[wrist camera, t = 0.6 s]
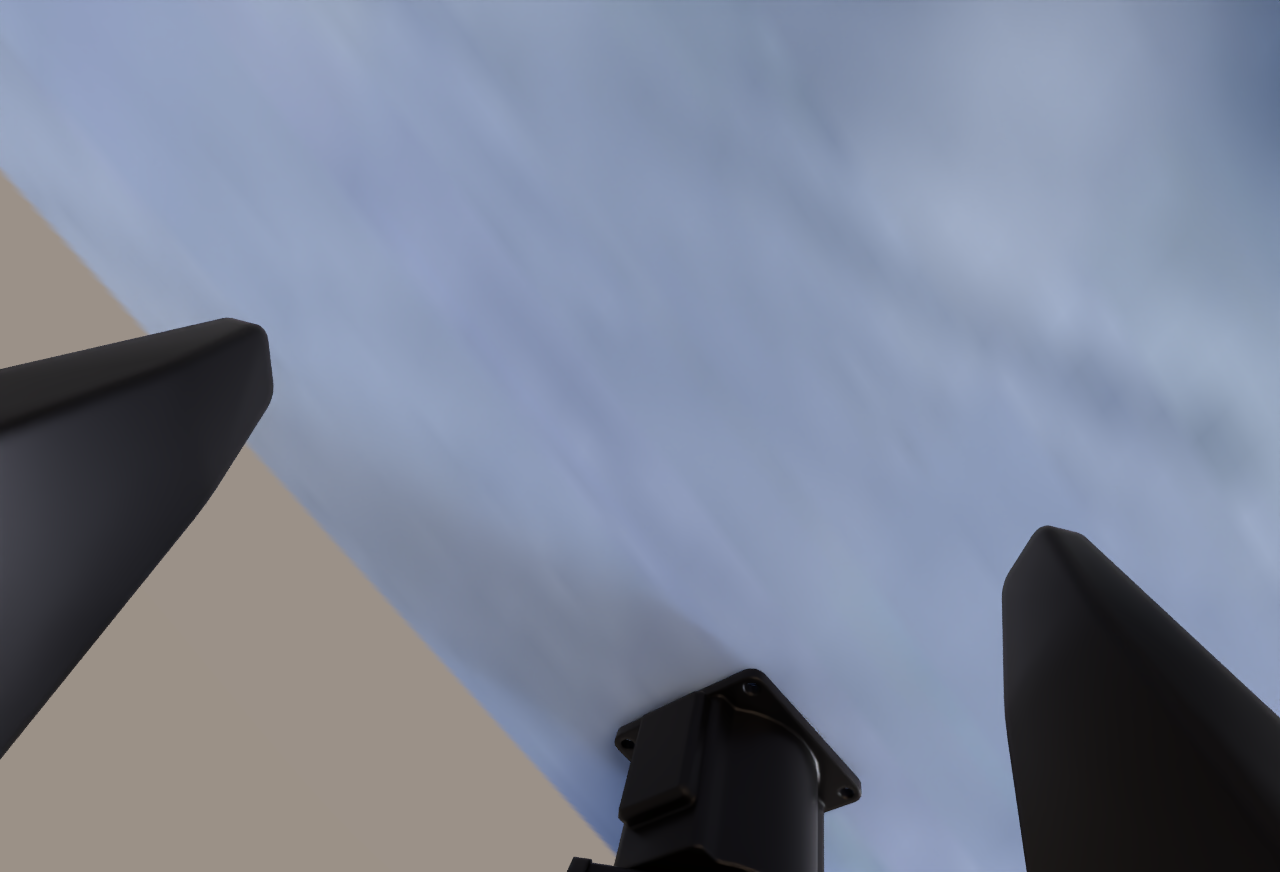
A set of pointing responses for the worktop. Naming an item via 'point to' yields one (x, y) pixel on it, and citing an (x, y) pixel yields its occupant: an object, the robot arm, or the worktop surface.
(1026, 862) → the robot arm
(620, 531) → the worktop surface
